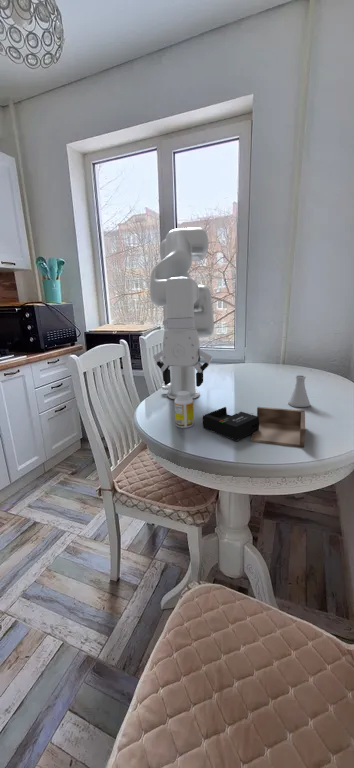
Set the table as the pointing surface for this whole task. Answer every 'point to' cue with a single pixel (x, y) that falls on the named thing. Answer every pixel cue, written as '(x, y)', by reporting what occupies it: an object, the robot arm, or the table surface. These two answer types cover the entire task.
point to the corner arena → (280, 426)
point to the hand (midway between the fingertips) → (183, 384)
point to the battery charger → (231, 423)
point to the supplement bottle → (184, 410)
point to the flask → (299, 393)
